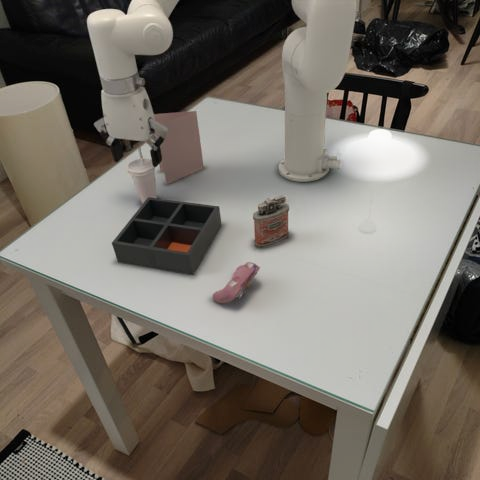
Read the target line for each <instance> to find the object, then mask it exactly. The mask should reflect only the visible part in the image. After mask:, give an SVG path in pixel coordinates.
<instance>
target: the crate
mask: <svg viewBox="0 0 480 480" xmlns="http://www.w3.org/2000/svg"><path fill="white" fill-rule="evenodd" d="M220 209H221V208H220V205H211V204H203V203H198V202H197V203H196V202H188V201H181V200H172V199H165V198H158V197H157V198H151V197H148V198H147V199H146V201H145V202H144V203H143V204H142V203H141V205H140V207H139V208H138V209H137V210H136V212H135V213H134V214H133V215H132V217H131V218H130V219H129V221H128V222H127V223H126V224H125V225H124V227H123V228H122V229H121V230H120V231H119V233H118V234H117V236H116V237H115V238H114V239H113V241H112V242H111V245H112V248H113V251H114V254H115V255H114V256H115V258H116V260H117V263H120V264H127V265H131V266H132V265H133V266H138V267H143V268H150V269H156V270H161V271H167V272H173V273H178V274H179V273H180V274H185V275H190V276H194V274H195V272H196V271H197V269H198V267H199V266H200V264H201V262H202V261H203V258H204V257H205V255H206V254H207V252H208V250H209V248H210V246H211V245H212V243H213V241H214V240H215V238H216V236H217V234H218V233H219V231H220V229H221V227H222V225H223V224H222V217H221V211H220Z"/></svg>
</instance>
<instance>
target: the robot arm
mask: <svg viewBox="0 0 480 480" xmlns="http://www.w3.org/2000/svg"><path fill="white" fill-rule="evenodd" d="M179 1H180V0H131V1H130V3H129V5H128V8H127V13H125V12H124V11H122V10H120V9H116V8H115V9H114V8H105V9H99V10H96V11H93V12H91V13H90V14H89V15H87V18H86V24H87V25H86V26H87V31H88V34H89V35H88V36H89V39H90V42H91V47H92V50H93V54H94V58H95V62H96V67H97V71H98V75H99V80H100V84H101V87H102V90H101V91H100V92H101V93H100V94H101V95H100V96H101V108H102V115H103V117H101V118H99V119H97V120H96V121H95V122H94V123H93V126H94V127H95V128H96V130H97V131H98V132H99V135H100V136H101V138H102V139H104V141H105V143H106V145H108V146H109V148H110V152H111V155H112V157H113V161H114V163H119V162H120V161H121V160H122V159H123V158H124V151H123V148H122V147H123V146H122V144H121V140H127V141H137V142H145V143H146V145H148V146H149V147H150V148H151V149H150V150H149V153H150V158H151V160H152V164H153V166H154V167H156V168H158V166H159V163H160V162H161V161H162V154H161V148H160V145H161V144H162V143H163V142H164V141H165V139H166V136H167V133H168V128H167V127H165V126H164V125H162V124H160V123H159V122H157V121H155V117H154V114H155V113H154V110H153V107H152V103H151V101H150V100H151V99H150V97H149V95H148V92H147V90H146V87H145V85H146V80H145V78H144V77H140V72H139V71H138V66H137V62H136V55H138V56H156V55H157V56H158V55H161V54H163V53H165V52H166V51H167V50H168V49H169V48H170V47H171V46H172V41H173V38H174V30H173V25H172V23H171V21H170V19H169V18H170V16H171V14H172V12H173V10H174V9H175V7H176V6H177V4H178V3H179ZM291 6H292V9H293V12H294V14H295V15H296V16H297V17H298V18H299V19H300V20H301V21H303V23H305V24H306V26H302V27H298V28H296V29H294V30H293V31H292V32H290V34H289V35H287V37H286V39H285V41H284V43H283V46H282V50H281V66H282V69H281V70H282V77H283V88H284V158H283V159H282V160H281V161H280V162H279V164H278V171H279V174H280V175H281V176H282V177H283V178H284V179H287V180H289V181H292V182H297V183H298V182H299V183H307V182H308V183H309V182H314V181H317V180H320V179H322V178H323V177H325V176H326V175H327V174H328V172H329V171H330V169H332V170H333V169H334V170H340V169H341V164H342V161H341V160H338V158H339V157H338V156H334V155H333V156H331V155H329V154H327V148H325V137H326V136H325V135H326V134H325V133H326V120H327V118H326V117H327V105H328V104H327V103H328V94H329V93H331V92H332V91H334V90H335V89H336V88H337V87H338V86H339V85H340V84H341V82H342V80H343V78H344V76H345V75H346V71H347V67H348V64H349V58H350V52H351V47H352V40H353V34H354V30H355V22H356V17H357V0H291ZM156 131H158V132H159V134H160V135H159V138H158V137H157V136H156V134H155V132H156Z"/></svg>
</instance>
